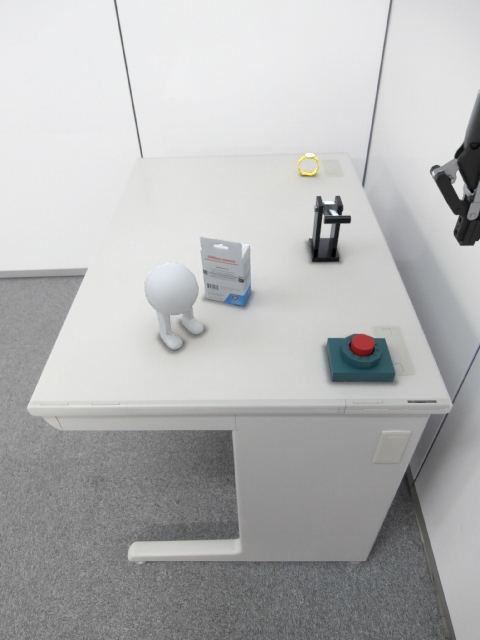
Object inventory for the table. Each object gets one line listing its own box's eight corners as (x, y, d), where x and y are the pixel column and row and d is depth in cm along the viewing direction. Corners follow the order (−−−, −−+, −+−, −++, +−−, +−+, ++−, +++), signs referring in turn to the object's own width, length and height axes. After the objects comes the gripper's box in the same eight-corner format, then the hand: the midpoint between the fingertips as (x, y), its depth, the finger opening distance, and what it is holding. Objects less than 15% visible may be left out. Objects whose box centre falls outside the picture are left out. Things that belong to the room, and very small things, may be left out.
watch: (297, 176, 130) (298, 156, 125) (297, 172, 132) (299, 152, 127) (317, 177, 129) (319, 157, 125) (318, 173, 131) (319, 153, 127)
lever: (350, 226, 84) (351, 214, 83) (324, 227, 84) (325, 214, 83) (338, 212, 95) (339, 201, 94) (315, 212, 95) (316, 201, 94)
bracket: (339, 261, 98) (347, 209, 89) (312, 262, 98) (317, 210, 89) (333, 242, 103) (341, 191, 95) (308, 242, 104) (313, 191, 95)
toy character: (176, 357, 78) (164, 291, 68) (144, 333, 82) (129, 268, 72) (213, 331, 82) (207, 265, 72) (181, 309, 87) (171, 245, 77)
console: (382, 346, 78) (387, 330, 76) (392, 381, 73) (398, 365, 70) (326, 346, 79) (328, 330, 76) (331, 381, 73) (334, 365, 70)
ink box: (252, 291, 91) (251, 229, 81) (244, 307, 87) (242, 244, 77) (213, 284, 93) (208, 222, 83) (204, 299, 89) (198, 236, 79)
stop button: (370, 341, 75) (372, 334, 73) (374, 357, 72) (376, 349, 71) (349, 341, 75) (350, 333, 73) (352, 357, 72) (354, 349, 71)
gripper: (465, 102, 40) (418, 260, 52) (616, 100, 39) (533, 259, 51) (440, 79, 45) (402, 226, 57) (572, 77, 45) (506, 226, 57)
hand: (464, 242), depth 54 cm, fingers closed
